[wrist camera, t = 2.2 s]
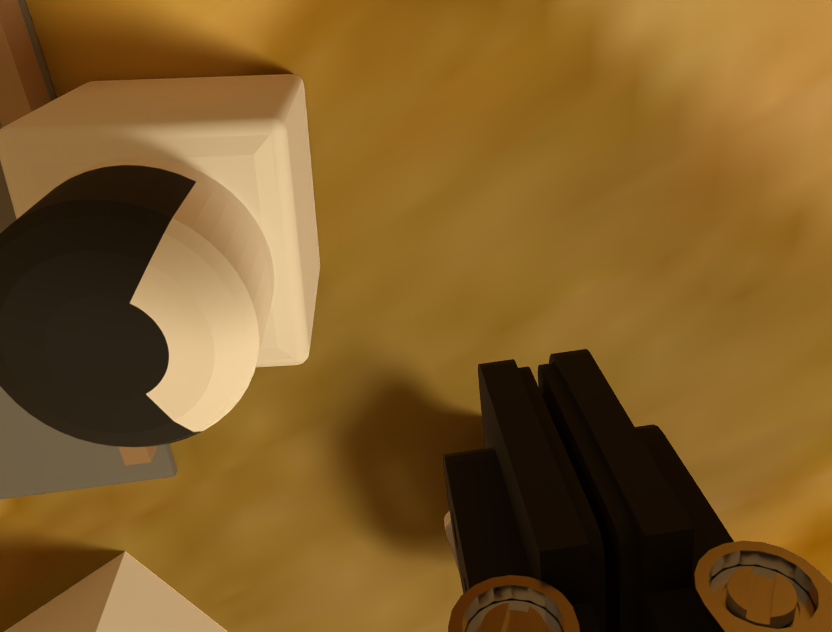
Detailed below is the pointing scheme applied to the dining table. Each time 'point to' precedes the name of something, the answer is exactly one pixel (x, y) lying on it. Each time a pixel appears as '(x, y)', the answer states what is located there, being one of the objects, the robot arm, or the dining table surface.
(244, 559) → the dining table surface
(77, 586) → the milk
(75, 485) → the tipping mat
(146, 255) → the medicine bottle
